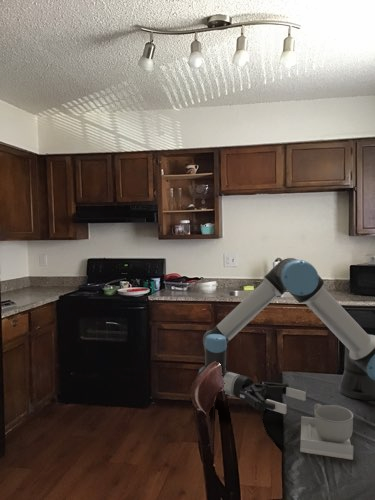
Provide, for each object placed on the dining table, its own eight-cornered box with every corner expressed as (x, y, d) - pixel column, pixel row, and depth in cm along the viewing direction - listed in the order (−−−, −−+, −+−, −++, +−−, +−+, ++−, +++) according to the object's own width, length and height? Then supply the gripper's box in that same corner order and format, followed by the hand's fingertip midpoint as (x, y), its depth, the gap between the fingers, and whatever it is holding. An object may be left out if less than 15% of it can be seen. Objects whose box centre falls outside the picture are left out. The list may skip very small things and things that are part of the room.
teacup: (360, 446, 120) (361, 418, 120) (324, 449, 119) (325, 420, 118) (335, 424, 134) (336, 399, 134) (302, 426, 133) (303, 401, 132)
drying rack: (301, 427, 136) (301, 416, 136) (347, 433, 132) (348, 422, 132) (300, 451, 121) (300, 439, 121) (352, 459, 117) (353, 446, 117)
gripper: (256, 386, 156) (312, 402, 142) (216, 408, 136) (276, 428, 123) (257, 366, 155) (312, 380, 142) (217, 384, 136) (277, 402, 122)
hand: (296, 402), depth 132 cm, fingers open, 13 cm apart
